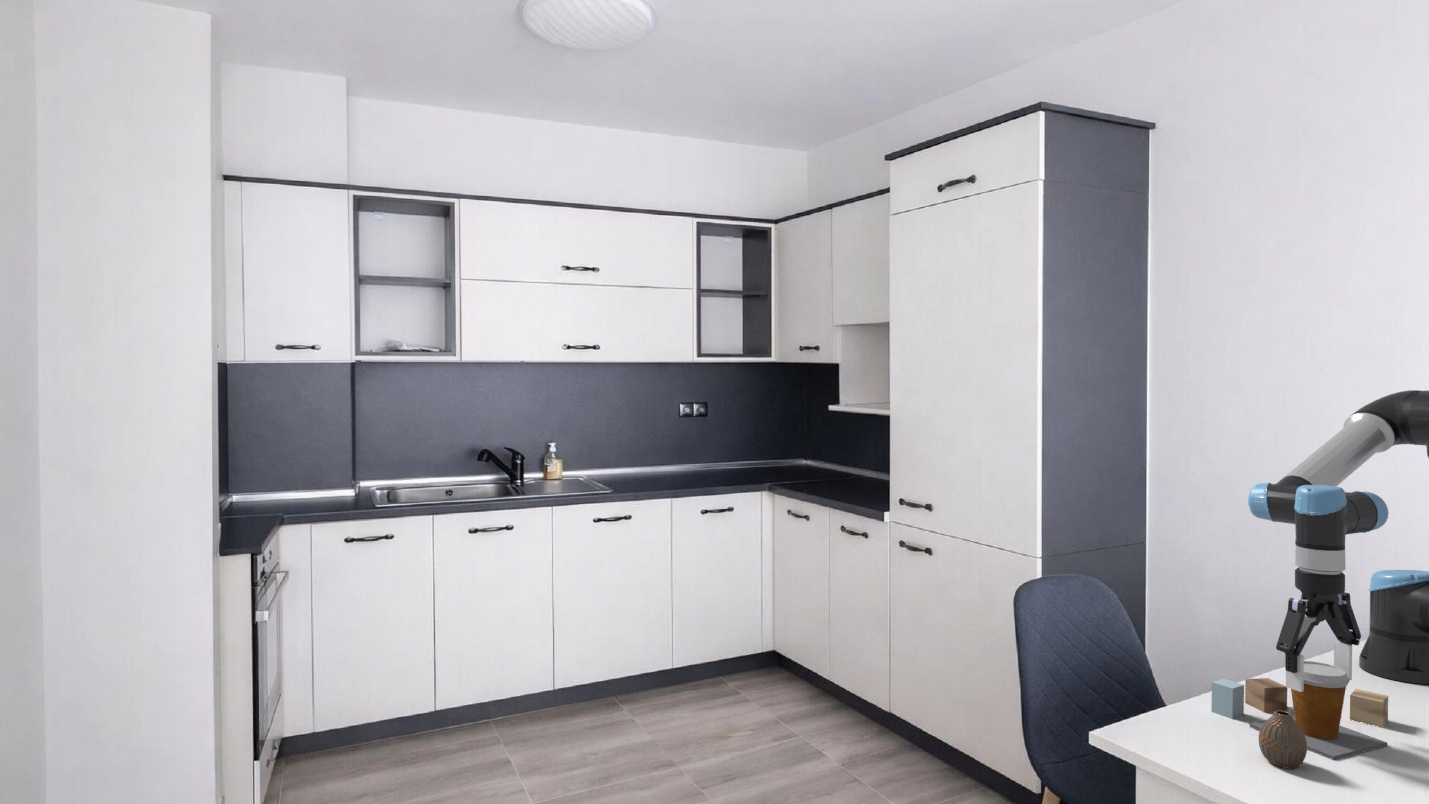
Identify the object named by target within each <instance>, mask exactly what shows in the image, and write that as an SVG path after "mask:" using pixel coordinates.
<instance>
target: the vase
mask: <svg viewBox="0 0 1429 804" xmlns="http://www.w3.org/2000/svg"><path fill="white" fill-rule="evenodd" d="M1291 714H1292V713H1291V712H1289V711H1281V710H1276V711H1275V712H1272V715H1271V716H1270V717H1269V718H1268V719H1266V720H1267V721H1266V722H1264V724H1263V725H1262V727H1261V729H1260V731H1259V732H1258V747H1259V749H1260V751H1261V752H1260V753H1261V754H1262V755H1263V757H1264V759H1266V760H1267V761H1268V762H1269V763H1270V764H1272V765H1274V766H1276V767H1279V768H1283V767H1284V768H1285V769H1295V768H1297V767H1299V766H1300V765H1301V764H1302V763H1304V761H1305V759H1306V756H1307V753H1308V750H1307V741H1306V738H1305V735H1304V733H1303V731H1302V730H1301V728H1300V727H1299V726H1298V724H1297V723H1296V722H1295V721H1294V719H1293V717H1292V715H1291Z"/></svg>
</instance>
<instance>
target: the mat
mask: <svg viewBox="0 0 1429 804" xmlns="http://www.w3.org/2000/svg"><path fill="white" fill-rule="evenodd" d="M1290 714H1291V715H1292V717H1293V719H1294V721H1295V716H1294V713H1290ZM1267 720H1268V719H1264V720H1259V721H1255V722H1251V723H1249V728H1253V729H1254V730H1256V731H1259V732H1260V729H1261V727H1262V725H1263V724H1264V722H1266V721H1267ZM1304 735H1305V734H1304ZM1305 738H1306V741H1307V751H1311V752H1312V751H1313V753H1316V754H1318V755H1320V754H1321V756H1323V757H1326V758H1328V759H1330V758H1331V760H1332V761H1333V760H1338V759H1342V758H1346V757H1349V756H1350V757H1351V756H1353V754H1354V755H1358V754H1360V753H1365V752H1369V751H1373V750H1376V748H1377V749H1380V748H1384V747H1388V741H1384V740H1382V739H1379V738H1376V737H1373V736H1370V735H1368V734H1365V733H1361V732H1359V731H1356V730H1353V729H1351V728H1348V727H1346V726H1343V725H1340V726H1339V732H1338V737H1337V738H1335V739H1320V738H1315V737H1311V736H1308V735H1305ZM1372 749H1373V750H1372ZM1364 751H1365V752H1364ZM1341 757H1342V758H1341Z"/></svg>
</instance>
